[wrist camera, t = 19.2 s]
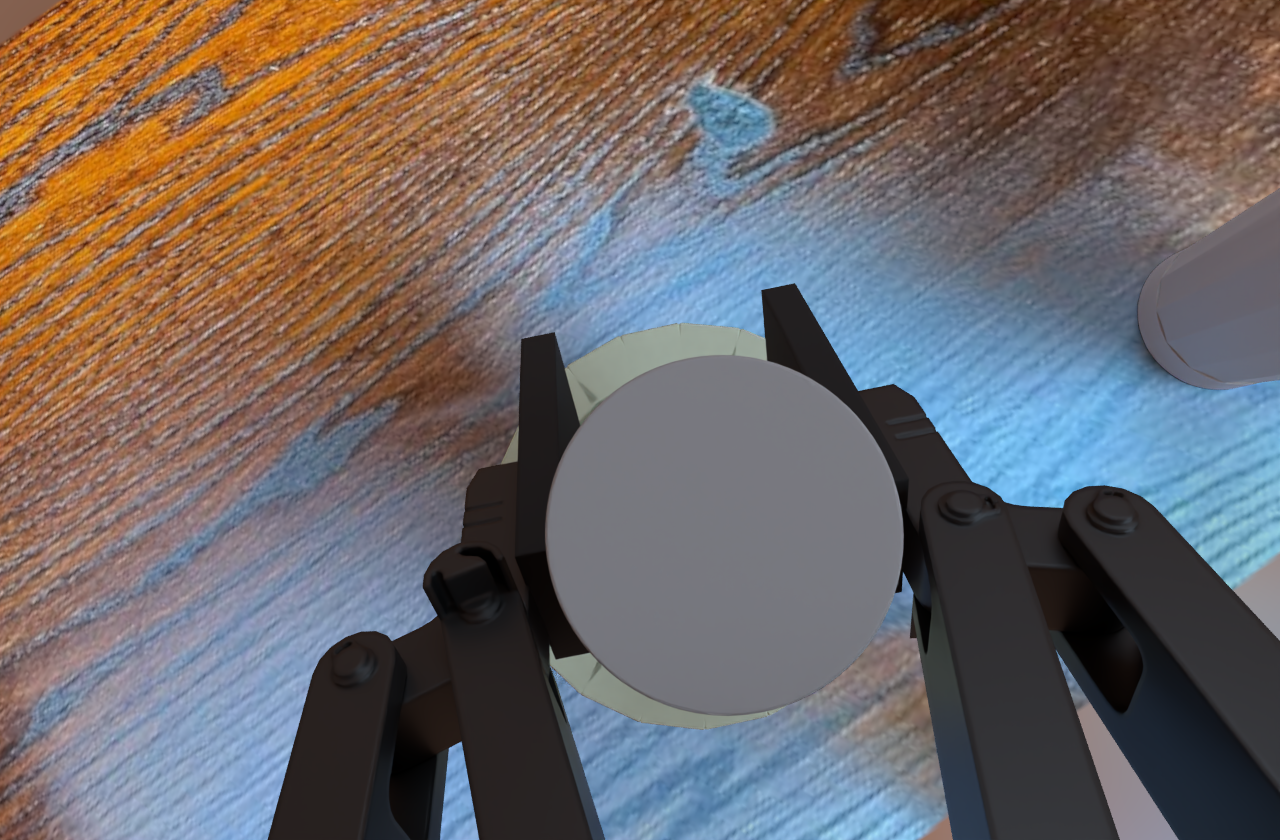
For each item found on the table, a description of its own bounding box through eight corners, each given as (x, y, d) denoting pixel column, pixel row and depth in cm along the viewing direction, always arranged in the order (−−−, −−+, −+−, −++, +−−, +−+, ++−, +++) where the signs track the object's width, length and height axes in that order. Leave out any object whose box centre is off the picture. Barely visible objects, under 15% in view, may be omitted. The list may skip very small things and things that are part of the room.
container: (588, 537, 24) (458, 568, 9) (675, 420, 25) (681, 273, 10) (707, 628, 24) (766, 811, 9) (795, 507, 24) (991, 491, 9)
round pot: (634, 716, 32) (618, 807, 22) (497, 468, 33) (423, 447, 23) (880, 570, 32) (973, 594, 22) (733, 330, 34) (759, 254, 24)
